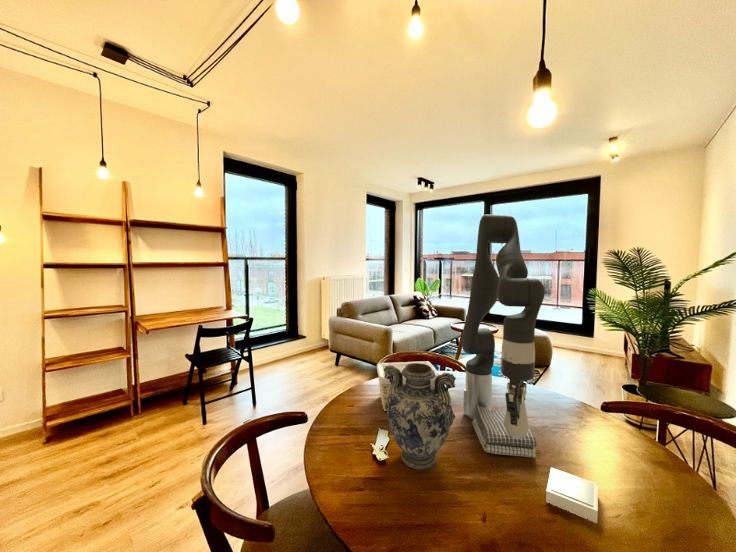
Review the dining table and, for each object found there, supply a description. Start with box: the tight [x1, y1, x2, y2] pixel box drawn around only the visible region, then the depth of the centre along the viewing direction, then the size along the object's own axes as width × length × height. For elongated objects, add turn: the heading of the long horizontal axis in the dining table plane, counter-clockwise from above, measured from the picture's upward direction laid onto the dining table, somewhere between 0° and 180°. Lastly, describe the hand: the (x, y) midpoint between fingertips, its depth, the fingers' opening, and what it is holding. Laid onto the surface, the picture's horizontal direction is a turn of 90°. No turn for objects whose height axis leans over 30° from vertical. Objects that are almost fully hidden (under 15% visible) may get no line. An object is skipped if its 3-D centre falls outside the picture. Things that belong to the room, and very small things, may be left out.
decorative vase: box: [384, 363, 456, 471], centre depth 90 cm, size 21×19×28 cm
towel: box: [471, 406, 538, 458], centre depth 99 cm, size 15×18×8 cm
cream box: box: [376, 360, 440, 412], centre depth 124 cm, size 24×16×15 cm
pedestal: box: [545, 467, 599, 524], centre depth 75 cm, size 10×10×3 cm
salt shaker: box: [503, 388, 530, 439], centre depth 77 cm, size 6×6×13 cm
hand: (515, 422), depth 77 cm, fingers closed on salt shaker, 3 cm apart
